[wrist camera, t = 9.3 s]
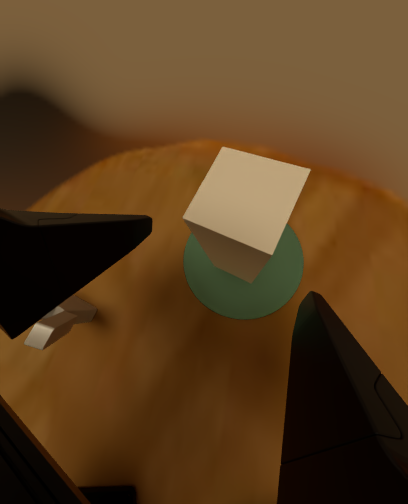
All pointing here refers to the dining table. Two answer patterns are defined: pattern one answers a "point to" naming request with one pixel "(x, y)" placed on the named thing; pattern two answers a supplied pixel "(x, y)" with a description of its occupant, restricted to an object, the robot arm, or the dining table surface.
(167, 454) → the dining table surface
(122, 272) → the dining table surface
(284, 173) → the cream block
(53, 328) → the lighter
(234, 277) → the green mat
